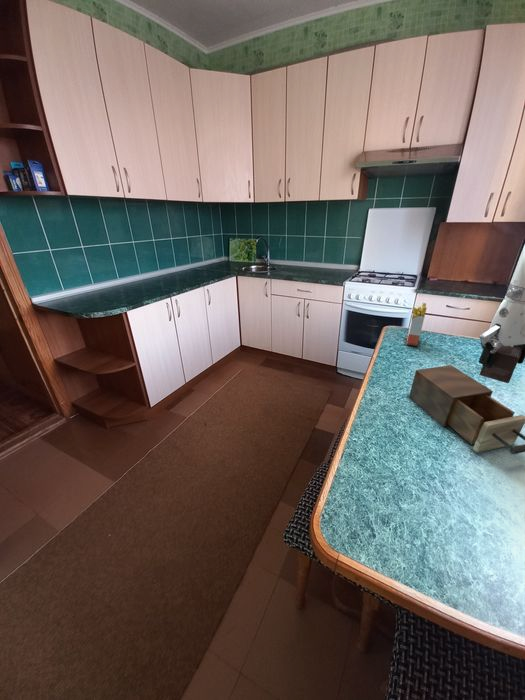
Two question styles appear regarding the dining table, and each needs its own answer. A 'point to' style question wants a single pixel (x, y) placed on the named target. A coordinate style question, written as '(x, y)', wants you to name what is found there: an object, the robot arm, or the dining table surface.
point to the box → (503, 364)
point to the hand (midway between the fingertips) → (500, 362)
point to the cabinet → (443, 390)
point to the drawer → (486, 423)
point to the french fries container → (416, 325)
